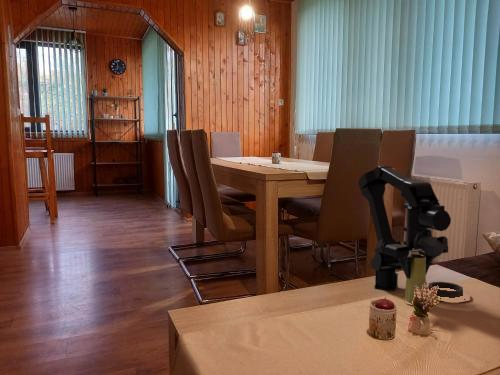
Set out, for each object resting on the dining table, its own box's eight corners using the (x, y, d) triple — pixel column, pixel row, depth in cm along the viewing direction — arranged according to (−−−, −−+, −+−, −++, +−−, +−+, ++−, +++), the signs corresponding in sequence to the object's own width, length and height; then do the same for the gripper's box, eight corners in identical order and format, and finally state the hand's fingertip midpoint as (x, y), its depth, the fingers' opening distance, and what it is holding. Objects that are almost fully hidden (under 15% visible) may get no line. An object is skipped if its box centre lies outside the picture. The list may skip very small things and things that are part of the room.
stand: (419, 299, 125) (420, 290, 125) (422, 285, 138) (422, 277, 138) (471, 305, 119) (472, 296, 119) (469, 291, 132) (469, 282, 132)
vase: (400, 300, 125) (401, 253, 123) (418, 298, 126) (419, 252, 124) (411, 307, 119) (413, 259, 117) (431, 305, 120) (432, 257, 119)
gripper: (410, 232, 110) (409, 289, 111) (464, 227, 116) (462, 281, 117) (383, 225, 120) (383, 277, 121) (434, 221, 126) (433, 271, 128)
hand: (416, 277), depth 121 cm, fingers closed on vase, 5 cm apart
